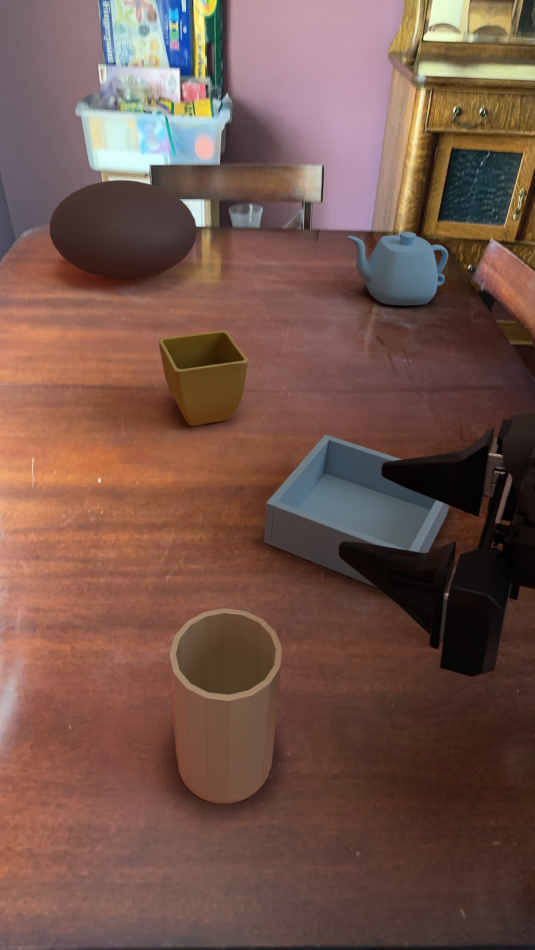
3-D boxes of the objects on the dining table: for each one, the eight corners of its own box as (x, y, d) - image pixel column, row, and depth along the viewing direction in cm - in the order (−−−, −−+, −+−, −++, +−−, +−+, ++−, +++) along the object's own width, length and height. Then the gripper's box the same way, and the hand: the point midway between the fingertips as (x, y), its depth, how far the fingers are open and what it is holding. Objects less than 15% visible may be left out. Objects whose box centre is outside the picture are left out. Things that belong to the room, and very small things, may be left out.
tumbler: (288, 740, 50) (300, 635, 43) (242, 822, 45) (247, 719, 38) (209, 700, 52) (208, 594, 45) (158, 774, 47) (147, 668, 40)
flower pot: (161, 401, 87) (157, 337, 81) (225, 391, 89) (226, 328, 84) (178, 438, 80) (175, 371, 75) (247, 426, 83) (249, 361, 77)
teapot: (340, 221, 115) (441, 221, 118) (334, 281, 122) (430, 281, 124) (357, 246, 105) (467, 246, 108) (349, 310, 112) (453, 309, 114)
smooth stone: (46, 255, 126) (32, 169, 117) (175, 243, 134) (172, 162, 125) (69, 306, 108) (55, 211, 99) (216, 289, 117) (216, 199, 108)
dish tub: (446, 515, 71) (457, 476, 68) (404, 599, 61) (414, 558, 58) (320, 471, 76) (325, 434, 73) (263, 542, 67) (266, 502, 64)
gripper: (655, 363, 41) (403, 337, 47) (661, 554, 28) (305, 484, 33) (615, 508, 48) (397, 469, 53) (604, 722, 34) (313, 638, 40)
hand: (362, 506), depth 45 cm, fingers open, 9 cm apart
